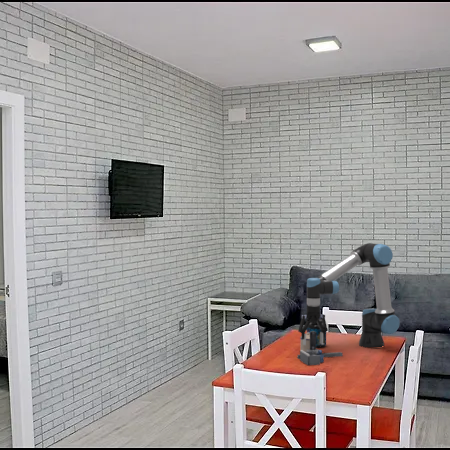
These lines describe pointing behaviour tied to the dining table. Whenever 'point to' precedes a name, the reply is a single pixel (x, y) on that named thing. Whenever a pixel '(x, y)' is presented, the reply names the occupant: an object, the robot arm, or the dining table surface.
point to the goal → (309, 358)
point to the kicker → (313, 346)
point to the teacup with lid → (307, 346)
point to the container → (317, 333)
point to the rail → (329, 354)
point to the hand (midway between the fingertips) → (312, 344)
